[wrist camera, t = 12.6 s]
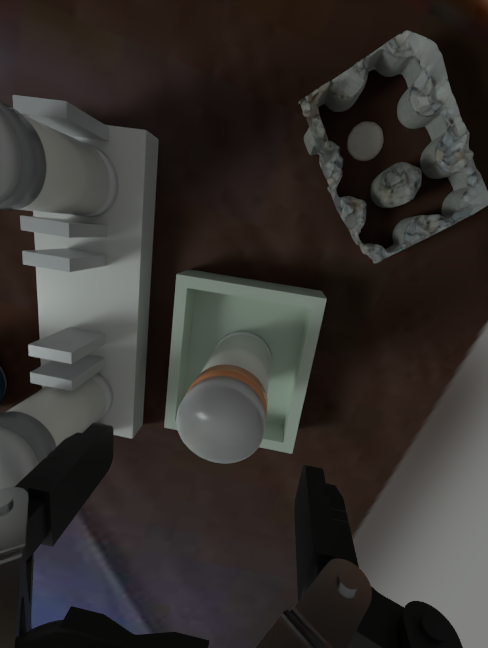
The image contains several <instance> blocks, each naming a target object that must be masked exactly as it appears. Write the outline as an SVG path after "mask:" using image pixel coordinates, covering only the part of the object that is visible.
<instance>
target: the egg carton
mask: <svg viewBox="0 0 488 648" xmlns="http://www.w3.org/2000/svg"><path fill="white" fill-rule="evenodd" d="M371 70H376V71H377V72H378V73H380V74H381V75H383V76H386V77H392V76H395V75H397V74H402V75H403V76H404V78H405V80H406V82H407V85H408V89H407V90H406V91H405V93H404V94H403V95H402V97H401V98H400V100H399V103H398V107H397V116H398V119H399V121H400V122H401V123H402V124H403V125H404V126H405V127H407V128H413V129H416V128H421V127H426V128H427V130H428V133H429V135H430V137H431V140H432V142H431V143H430V144H429V145H428V146H427V147H426V148H425V149H424V151H423V153H422V155H421V159H420V165H421V169H422V171H423V173H424V174H425V175H426V176H427V177H429V178H433V179H441V178H445V177H448V178H449V180H450V183H451V185H452V187H453V191H452V192H451V193H450V194H449V195H448V196H447V197H446V198H445V200H444V202H443V204H442V211H441V212H442V216H441V215H439V214H435V215H419V216H413V217H408V218H405V219H403V220H401V221H400V222H399V223H398V224H397V225H396V227H395V228H394V230H393V235H392V238H393V245H392V246H390V247H388V248H386V249H384V248H383V247H382V246H380V245H378V244H363V243H362V242H361V241H360V239H359V236H358V234H359V233H360V232H361V228H362V227H363V226H364V224H365V222H366V206H367V204H366V203H365V201H364V200H361V199H357V198H354V197H351V196H346V197H342V198H341V197H339V196H338V194H337V191H336V188H337V186H338V184H339V182H340V180H341V178H342V174H343V171H342V170H341V169H342V166H343V158H342V157H341V156H340V154H339V152H340V147H339V146H338V145H336V144H335V143H333V142H332V141H328V138H327V135H326V132H325V128H324V126H323V123H322V120H321V118H320V115H319V110H318V107H319V106H321V105H323V104H325V105H326V106H327V107H328V108H329V109H330V110H332V111H334V112H343V111H346V110H347V109H349V108H350V107H351V106H352V105H353V104H354V103H355V102H356V100H357V99H358V97H359V96H360V94H361V92H362V90H363V88H364V87H365V84H366V81H367V77H368V72H369V71H371ZM298 104H300V105H301V107H302V111H303V115H304V117H305V118H306V119H307V122H308V124H309V129H308V130H307V132H306V134H305V136H304V142H305V146H306V148H307V150H308V152H309V154H310V155H315V154H319V156H320V159H319V163H320V166H321V169H322V171H323V173H324V176H325V178H326V179H327V182H328V184H329V187H328V188H327V189H328V191H329V192H330V193H331V195H332V198H333V201H334V204H335V207H336V209H337V211H338V213H339V214H340V216H341V218H342V220H343V221H344V223H345V224H346V226H347V228H348V229H349V231H350V233H351V236H352V238H353V240H354V242H355V243H356V244H357V245H360V248H361V251H362V252H363V253H364V254H366V255H368V256H369V257H370V258H371V260H372V261H373V263H375V264H376V263H378V262H380V261H382V260H384V259H385V258H387V257H389V256H391V255H393V254H395V253H397V252H399V251H402V250H404V249H406V248H408V247H410V246H412V245H414V244H416V243H418V242H420V241H422V240H424V239H426V238H428V237H430V236H432V235H434V234H436V233H438V232H440V231H442V230H444V229H446V228H448V227H450V226H452V225H454V224H455V223H457V222H459V221H461V220H463V219H465V218H467V217H469V216H471V215H473V214H474V213H476V212H478V211H479V210H481V209H483V208H484V207H486V206H487V205H488V191H487V188H486V186H485V184H484V181H483V179H482V176H481V174H480V172H479V171H478V170H477V169H476V167H475V164H474V161H473V155H474V153H473V152H472V151H471V150H469V144H468V143H469V134H470V133H469V132H468V130H467V128H466V126H465V124H464V122H463V120H462V118H461V116H460V112H459V109H458V105H457V102H456V100H455V98H454V96H453V94H452V92H451V88H450V84H449V80H448V76H447V72H446V68H445V64H444V60H443V56H442V54H441V52H440V50H439V48H438V46H437V45H436V43H434V42H433V41H431V40H430V39H428V38H426V37H423V36H421V35H418V34H416V33H413V32H410V31H405V32H403V33H401V34H399V35H398V36H396V37H394V38H393V39H391V40H390V41H388V42H387V43H385V44H384V45H383V46H381V47H380V48H378V49H377V50H376V51H374V52H373V53H371V54H370V55H368V56H366V57H365V58H363V59H362V60H360V61H359V62H357V63H356V64H355V65H354V66H352V67H351V68H350V69H349V70H347V71H345V72H344V73H342V74H340V75H339V76H337V77H336V78H335V79H333V80H331V81H329V82H327V83H326V84H324V85H322V86H321V87H319V88H318V89H317V90H315V91H314V92H312V93H311V94H309V95H308V96H306V97H305V98H302V99H301V100H300V101H299V103H298ZM383 141H384V140H383V132H382V129H381V127H380V126H379V125H377V124H376V123H374V122H369V121H365V122H362V123H360V124H358V125H356V126H355V127H354V128H353V129H352V131H351V132H350V134H349V136H348V140H347V148H348V152H349V153H350V154H351V156H353V158H354V159H356V160H359V161H368V160H370V159H373V158H374V157H375V156H376V155H377V154H378V153H379V151H380V150H381V148H382V145H383ZM421 179H422V172H421V170H420V168H418V167H415V166H413V165H411V164H408V163H405V162H399V163H396V164H394V165H392V166H391V167H389V168H388V169H386V170H385V171H383V172H382V173H381V174H379V175H378V176H377V177H376V178H375V179H374V181H373V183H372V185H371V198H372V200H373V202H374V203H375V204H376V205H377V206H379V207H381V208H392V207H396V206H400V205H403V204H405V203H407V202H409V201H410V200H412V199H413V198H414V197H415V195H416V193H417V191H418V190H419V188H420V186H421Z"/></svg>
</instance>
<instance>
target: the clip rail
mask: <svg viewBox="0 0 488 648" xmlns="http://www.w3.org/2000/svg"><path fill="white" fill-rule="evenodd" d="M13 108H14V109H15V110H17V111H18V112H20V113H21V114H23V115H25V116H27V117H29V118H31V119H34V120H36V121H38V122H40V123H42V124H45V125H47V126H49V127H51V128H53V129H55V130H58V131H60V132H62V133H64V134H66V135H68V136H71V137H73V138H75V139H77V140H80V141H83V142H86V143H88V144H90V145H92V146H94V147H96V148H98V149H100V150H101V151H103V152H104V153H105V154H106V155H107V156H108V157H109V159H110V160H111V162H112V163H113V165H114V167H115V170H116V172H117V176H118V194H117V197H116V200H115V202H114V204H113V206H112V207H111V208H110V209H109V210H108V211H107V212H106V213H104V214H102V215H100V216H96V217H83V216H75V215H70V214H60V213H50V212H39V211H33V216H34V217H33V216H20V222H21V230H25V231H31V232H34V236H35V250H27V251H22V254H23V264H24V265H30V266H36V276H37V296H38V316H39V336H40V340H38V341H35V342H33V343H30V344H28V351H29V356H32V357H37V358H41V367H39V368H37V369H35V370H33V371H31V372H30V383H33V384H38V385H42V389H43V388H44V387H46V386H48V387H53V388H58V389H63V390H68V391H73V390H75V389H76V388H77V387H79V386H80V385H82V384H83V383H84V382H86V381H87V380H88V379H90V378H91V377H92V376H94V375H95V374H97V373H98V372H99V373H100V374H101V375H103V376H104V377H105V378H106V380H107V381H108V382H109V384H110V386H111V388H112V391H113V404H112V406H111V408H110V409H109V411H108V412H107V413H106V414H105V415H104V416H103V417H102V418H101V419H99V420H98V421H97V422H96V423H101V424H106V425H111V426H113V430H114V432H113V435H117V436H122V437H127V438H133V437H134V436H135V434H136V433H137V432H138V430H139V429H140V428H141V426H142V425H143V410H144V393H145V375H146V357H147V339H148V322H149V304H150V286H151V268H152V251H153V233H154V215H155V197H156V180H157V162H158V144H159V139H158V138H156V137H155V136H154V135H152V134H151V133H150V132H148V131H147V130H142V129H134V128H126V127H118V126H110V125H104V124H103V123H101V122H99V121H98V120H96V119H95V118H93V117H91V116H90V115H88V114H86V113H85V112H83V111H81V110H80V109H78V108H76V107H75V106H73V105H72V104H70V103H68V102H67V101H59V100H51V99H42V98H34V97H26V96H18V95H13Z"/></svg>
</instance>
